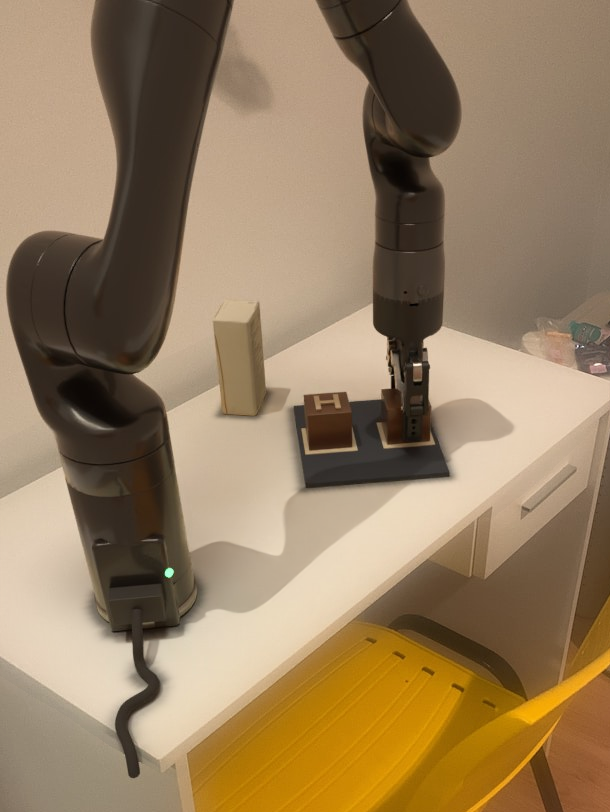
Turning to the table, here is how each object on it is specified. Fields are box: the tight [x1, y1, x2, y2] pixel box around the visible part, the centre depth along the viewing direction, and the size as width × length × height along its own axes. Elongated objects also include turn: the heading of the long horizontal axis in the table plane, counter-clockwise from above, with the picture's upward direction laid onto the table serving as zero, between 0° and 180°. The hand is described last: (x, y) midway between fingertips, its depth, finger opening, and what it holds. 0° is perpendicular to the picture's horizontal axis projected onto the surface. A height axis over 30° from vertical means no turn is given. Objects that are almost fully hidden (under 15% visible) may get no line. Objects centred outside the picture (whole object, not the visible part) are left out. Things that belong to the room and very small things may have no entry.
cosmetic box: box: [212, 298, 267, 417], centre depth 116 cm, size 6×4×12 cm
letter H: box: [303, 391, 352, 451], centre depth 110 cm, size 5×5×5 cm
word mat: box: [293, 398, 450, 489], centre depth 112 cm, size 18×16×1 cm
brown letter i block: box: [380, 387, 432, 445], centre depth 111 cm, size 5×5×5 cm
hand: (405, 422), depth 111 cm, fingers open, 8 cm apart
